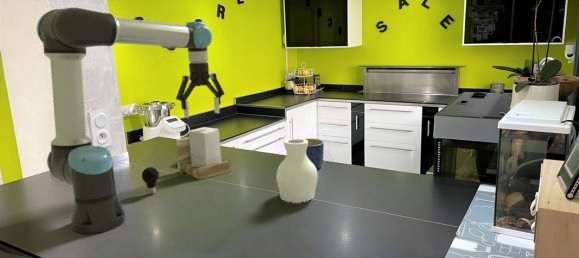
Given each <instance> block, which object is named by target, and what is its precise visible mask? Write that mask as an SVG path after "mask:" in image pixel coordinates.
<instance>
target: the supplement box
mask: <svg viewBox="0 0 579 258" xmlns="http://www.w3.org/2000/svg"><path fill="white" fill-rule="evenodd" d="M188 135H189V136H188V137H189V140H190V151H191V162H192V166H195V167H200V168H201V167H205V166H209V165H214V164H218V163H221V162H222V157H221V141H220V129H219V128H213V127H206V126H203V127H199V128H196V129H191V130H189V131H188Z"/></svg>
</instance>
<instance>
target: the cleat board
mask: <svg viewBox="0 0 579 258" xmlns="http://www.w3.org/2000/svg"><path fill="white" fill-rule="evenodd" d="M175 147H176V149H175V150H176V159H177V170H178V171H177V172H178V173H179V174H183V173H186V174H188V175H190V176H192V177H194V178H196V179H197V180H203V179H208V178H211V177H215V176H218V175H219V176H220V175H224V174H229V173H231V166H230V161H228V160H226V161H221V163H218V164H214V165H209V166H205V167H201V168H200V167H195V166H192V162H191V151H190V140H189V136H188V137H184V138H183V137H182V138H179V139H178V138H176V139H175Z"/></svg>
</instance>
